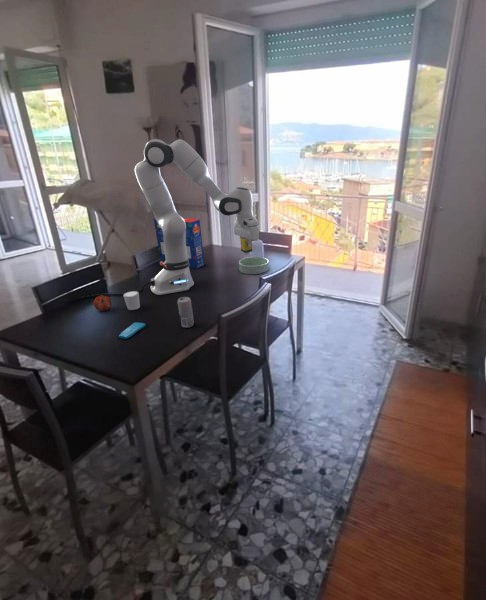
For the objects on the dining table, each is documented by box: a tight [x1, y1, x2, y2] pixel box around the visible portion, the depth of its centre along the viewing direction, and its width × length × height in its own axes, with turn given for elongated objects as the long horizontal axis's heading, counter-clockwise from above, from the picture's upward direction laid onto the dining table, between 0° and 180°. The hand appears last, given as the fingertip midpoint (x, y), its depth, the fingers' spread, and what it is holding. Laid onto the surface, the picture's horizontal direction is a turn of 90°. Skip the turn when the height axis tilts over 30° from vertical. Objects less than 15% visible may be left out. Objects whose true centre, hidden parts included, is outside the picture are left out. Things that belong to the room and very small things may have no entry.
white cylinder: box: [122, 290, 141, 311], centre depth 165 cm, size 7×7×7 cm
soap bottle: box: [249, 230, 265, 258], centre depth 223 cm, size 9×9×25 cm
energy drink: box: [177, 296, 195, 329], centre depth 147 cm, size 5×5×12 cm
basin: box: [238, 256, 270, 275], centre depth 209 cm, size 18×18×5 cm
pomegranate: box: [93, 295, 112, 312], centre depth 164 cm, size 7×7×10 cm
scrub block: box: [239, 237, 252, 254], centre depth 190 cm, size 4×4×7 cm
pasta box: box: [153, 217, 205, 270], centre depth 217 cm, size 28×8×28 cm, turn 64°
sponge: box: [118, 322, 146, 340], centre depth 146 cm, size 2×12×6 cm
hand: (246, 245), depth 190 cm, fingers closed on scrub block, 4 cm apart
